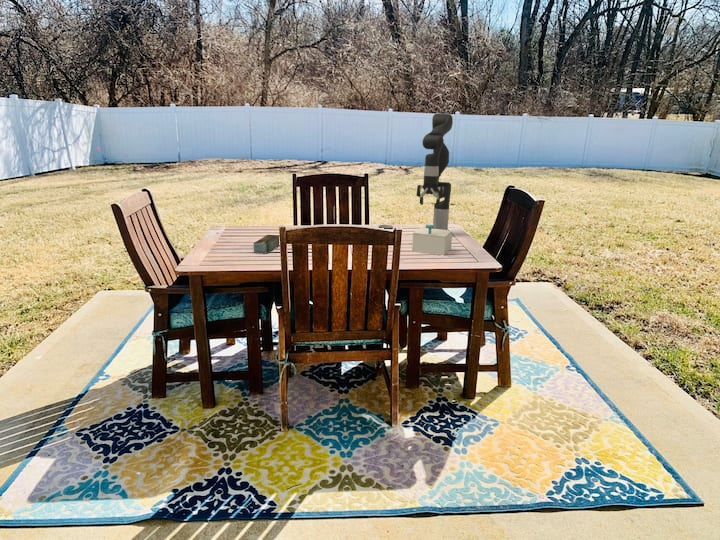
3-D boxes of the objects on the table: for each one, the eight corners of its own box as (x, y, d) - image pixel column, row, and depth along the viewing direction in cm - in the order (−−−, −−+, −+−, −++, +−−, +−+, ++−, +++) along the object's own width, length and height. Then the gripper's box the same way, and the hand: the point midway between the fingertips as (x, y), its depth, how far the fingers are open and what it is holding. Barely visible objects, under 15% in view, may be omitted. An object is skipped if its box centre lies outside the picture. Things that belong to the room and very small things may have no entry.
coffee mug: (374, 242, 296) (375, 225, 293) (385, 240, 301) (386, 224, 298) (387, 246, 287) (388, 229, 284) (398, 244, 292) (399, 227, 289)
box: (420, 245, 291) (421, 228, 288) (450, 249, 284) (452, 232, 281) (412, 251, 278) (413, 234, 275) (443, 255, 271) (445, 237, 268)
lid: (421, 228, 288) (421, 218, 286) (452, 231, 281) (453, 221, 279) (413, 233, 275) (413, 223, 273) (445, 237, 268) (445, 227, 266)
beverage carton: (253, 253, 270) (252, 241, 268) (267, 244, 287) (267, 233, 285) (266, 254, 268) (266, 242, 266) (280, 245, 286) (280, 234, 284)
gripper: (446, 174, 264) (444, 205, 268) (420, 173, 269) (419, 203, 274) (442, 176, 257) (440, 207, 262) (415, 174, 263) (414, 205, 268)
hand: (429, 205), depth 268 cm, fingers open, 8 cm apart
